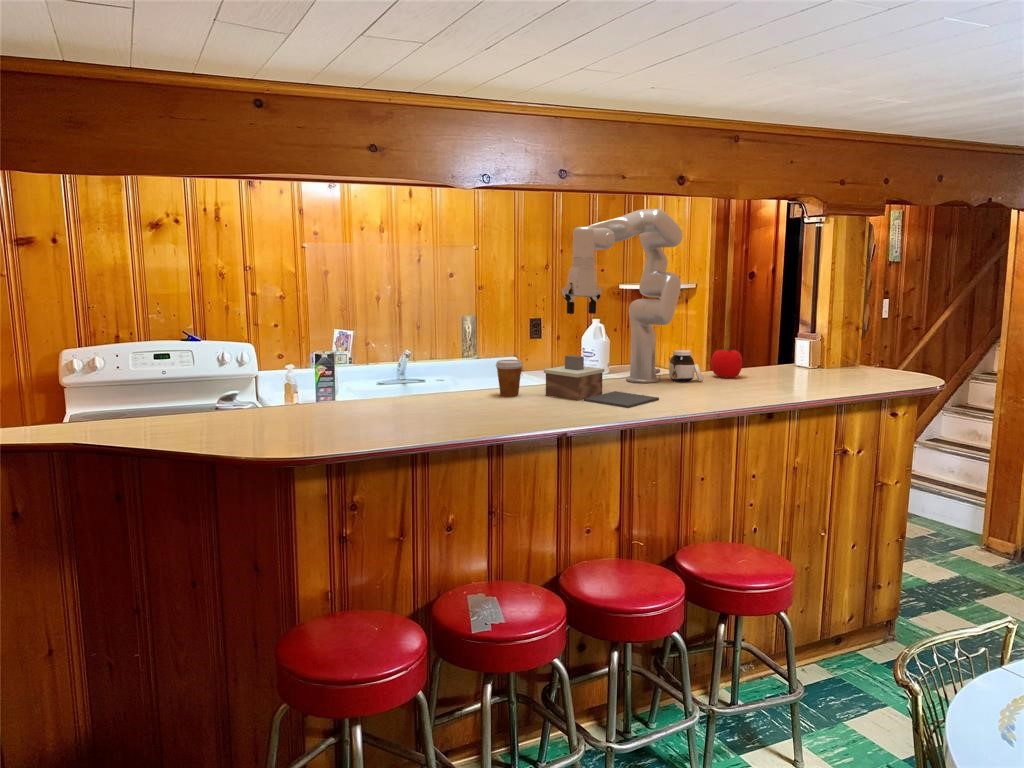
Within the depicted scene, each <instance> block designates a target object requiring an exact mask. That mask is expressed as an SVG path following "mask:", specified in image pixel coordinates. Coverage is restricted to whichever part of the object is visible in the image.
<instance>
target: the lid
mask: <svg viewBox="0 0 1024 768" xmlns="http://www.w3.org/2000/svg"><path fill="white" fill-rule="evenodd" d="M584 360H585V357H584V356H581V355H575V354H574V355H573V354H568V355H564V365H563V366H557V367H551V368H546V369H545V368H544V369H543V373H544V374H546V373H549V374H556V375H563V376H571V377H582V376H587V375H593V374H598V373H602V374H603V373H605V368H602V367H601V368H600V367H592V366H585V365H584V364H585V363H584V362H585V361H584Z"/></svg>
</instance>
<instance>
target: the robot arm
mask: <svg viewBox="0 0 1024 768" xmlns="http://www.w3.org/2000/svg"><path fill="white" fill-rule="evenodd" d="M572 233H573V235H572V236H573V237H572V262H571V263H572V264H571V267H569V270H568V271H569V272H568V275H567V280H566V281H567V283H566V286H564V287H562V288H561V293H562V297H563V299H564V300H565V302H566V314H569V315H574V314H575V302H574V300H575V299H576V298H577V297H580V298H584V297H585V298H586V297H587V298H588V300H589V302H588V314H593V315H596V314H597V303H598V302H599V299H600V298H601V296H602V294H603V289H602V288H601V287H599V286H598V285H597V271H596V267H595V265H597V261H596V260H595V251H599V250H600V251H603V250H604V251H605V250H609V249H610V248H612V247H613V246H614V244H615V243H616V242H617V243H618V242H622V241H624V242H625V241H627V240H629V239H631V238H633V237H634V238H635V237H636V236H638V238H639V241H640V244H641V246H642V249H643V252H644V256H645V261H644V267H643V271H642V275H641V278H640V282H639V286H638V287H639V292H640V294H641V295H642V296H644V297H647V298H638V299H635V300H633V301H632V302H630V304H629V307H628V316H629V317H628V318H629V323H630V366H629V369H630V370H629V375H627V376H626V377H625V380H626V381H627V382H629V383H630V382H631V383H637V384H650V383H652V384H653V383H658V382H659V381H660V378H659V377H658V376H656V375H657V374H661V369H660V368H656V351H657V350H656V347H657V346H656V345H657V344H656V343H657V335H656V331H655V329H654V326H653V325H655V326H666V325H669V324H670V323H671V322H672V320H673V319H674V315H675V312H676V309H677V306H678V301H679V297H680V294H681V293H680V292H681V286H682V283H681V279H680V277H679V275H678V274H676V273H674V272H667V268H668V263H669V260H668V257H667V255H666V253H665V251H664V250H663V248H676V247H678V246H679V245H680V244H681V242H682V240H683V232H682V229H681V227H680V225H679V224H678V223H677V222H676V221H675V220H674V219H673V218H672V217H671V216H670V215H669V214H668V213H667V212H665V211H664V210H662V209H661V208H644V209H643V208H642V209H638V210H634V211H632V212H630V213H626V214H623V215H622V216H621V215H620V216H618V217H614V218H611V219H607V220H605V221H600V222H597V223H592V224H590V225H588V226H577V227H574V228H573V231H572ZM653 298H660V299H653Z"/></svg>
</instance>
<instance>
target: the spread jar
mask: <svg viewBox="0 0 1024 768" xmlns="http://www.w3.org/2000/svg"><path fill="white" fill-rule="evenodd" d="M691 355H692V350H688V349H676V350H674V349H673V351H672V356H671V357H670V359H669V364H668V365H669V366H668V367H669V368H668V376H669V378H670V380H671V381H672V382H674V381H675V383H689V382H692V381H693V379H694V377H695V374H696V378H697V380H698V381H699V382H703V375H702V373H701V369H700V367H699V364H698V363H696V364H695V360H694V359H693V357H692V356H691Z"/></svg>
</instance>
